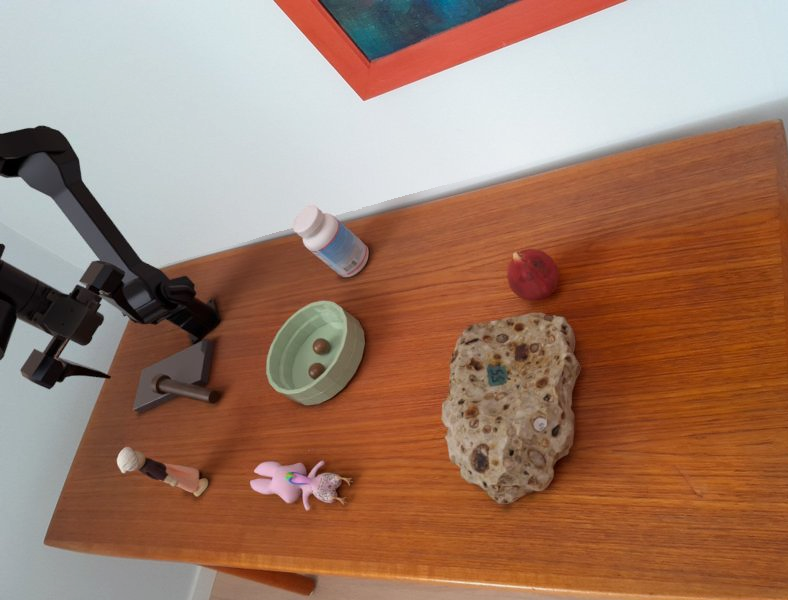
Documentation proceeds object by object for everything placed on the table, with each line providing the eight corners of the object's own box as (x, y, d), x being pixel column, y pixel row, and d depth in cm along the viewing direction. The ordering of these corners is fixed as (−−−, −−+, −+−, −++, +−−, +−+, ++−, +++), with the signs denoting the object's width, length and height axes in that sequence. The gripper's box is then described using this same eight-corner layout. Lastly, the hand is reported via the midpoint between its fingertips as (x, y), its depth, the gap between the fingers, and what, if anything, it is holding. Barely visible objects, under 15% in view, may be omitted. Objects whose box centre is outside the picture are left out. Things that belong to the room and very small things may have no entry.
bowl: (279, 359, 99) (257, 345, 96) (349, 298, 97) (329, 282, 94) (302, 426, 90) (279, 414, 87) (380, 361, 88) (359, 345, 85)
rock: (470, 352, 82) (446, 302, 74) (589, 345, 77) (577, 290, 70) (448, 513, 70) (417, 472, 62) (587, 515, 65) (573, 472, 58)
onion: (576, 275, 78) (549, 236, 72) (555, 317, 76) (525, 281, 70) (536, 267, 81) (507, 229, 76) (515, 307, 80) (484, 272, 74)
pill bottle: (373, 240, 101) (325, 195, 93) (367, 273, 98) (317, 229, 90) (342, 250, 104) (293, 207, 96) (335, 282, 101) (284, 241, 93)
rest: (149, 373, 117) (141, 369, 116) (214, 342, 111) (207, 338, 110) (140, 413, 112) (132, 410, 111) (207, 383, 106) (200, 379, 105)
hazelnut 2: (310, 369, 92) (308, 359, 90) (327, 368, 92) (325, 359, 91) (308, 383, 91) (306, 374, 89) (326, 383, 91) (323, 374, 89)
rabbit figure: (362, 470, 82) (268, 457, 89) (338, 455, 78) (240, 442, 84) (348, 520, 80) (252, 503, 86) (322, 508, 75) (222, 490, 81)
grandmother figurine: (217, 474, 94) (141, 444, 85) (205, 501, 93) (127, 473, 84) (186, 467, 99) (111, 437, 90) (174, 492, 98) (97, 465, 88)
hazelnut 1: (306, 345, 93) (313, 355, 91) (317, 332, 93) (324, 342, 91) (318, 351, 95) (325, 360, 93) (329, 338, 94) (336, 348, 93)
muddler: (147, 389, 106) (202, 403, 100) (155, 371, 107) (211, 383, 101) (161, 396, 108) (216, 409, 103) (170, 378, 109) (225, 390, 103)
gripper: (0, 372, 79) (115, 420, 91) (87, 242, 84) (186, 303, 95) (-27, 354, 86) (83, 401, 98) (55, 235, 91) (150, 293, 103)
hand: (126, 349), depth 98 cm, fingers open, 9 cm apart
